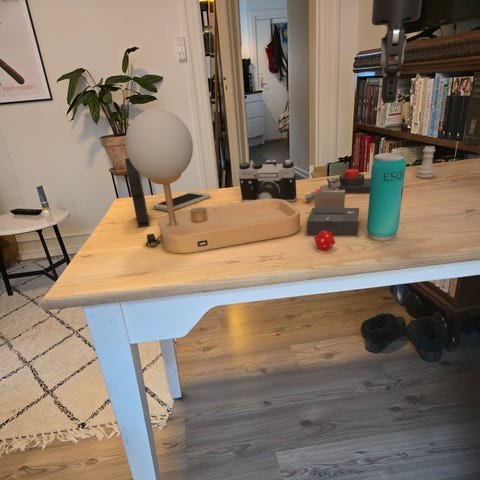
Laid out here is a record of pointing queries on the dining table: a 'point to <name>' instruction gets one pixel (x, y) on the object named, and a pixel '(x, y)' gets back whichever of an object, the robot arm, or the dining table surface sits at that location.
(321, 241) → the die
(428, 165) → the rook chess piece
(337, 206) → the grey rectangular plate
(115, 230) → the dining table surface
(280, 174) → the camera
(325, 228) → the dial block
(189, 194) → the smartphone
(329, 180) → the elephant figurine
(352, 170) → the button
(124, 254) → the dining table surface
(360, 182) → the box
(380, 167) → the beverage can
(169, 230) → the lamp
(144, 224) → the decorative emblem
